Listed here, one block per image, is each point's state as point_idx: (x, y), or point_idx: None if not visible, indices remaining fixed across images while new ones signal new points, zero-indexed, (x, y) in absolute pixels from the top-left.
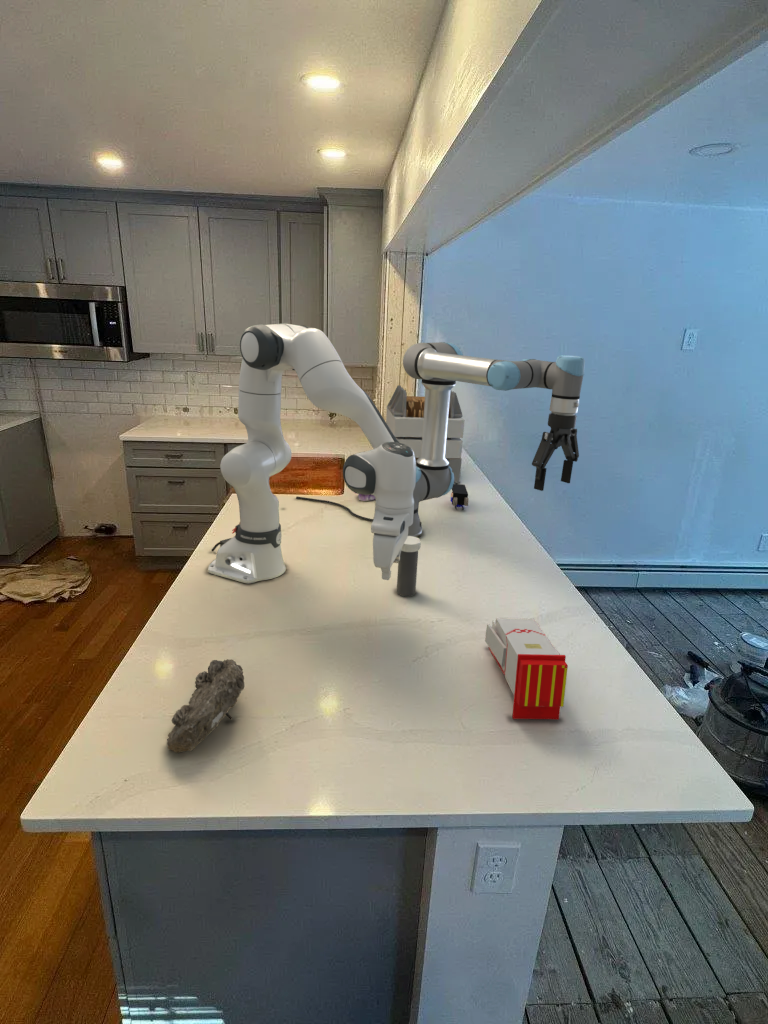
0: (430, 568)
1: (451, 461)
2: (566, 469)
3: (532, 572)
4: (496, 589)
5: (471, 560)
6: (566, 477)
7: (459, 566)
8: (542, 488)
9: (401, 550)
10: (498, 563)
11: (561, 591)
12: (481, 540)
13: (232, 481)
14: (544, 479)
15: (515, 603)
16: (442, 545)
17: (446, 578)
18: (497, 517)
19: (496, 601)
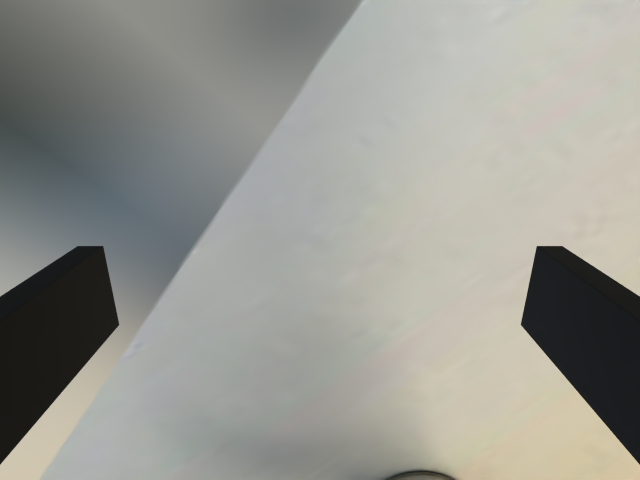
0: None
1: None
2: (23, 372)
3: (337, 165)
4: (525, 159)
5: (414, 317)
6: (80, 301)
7: (473, 311)
8: (572, 255)
9: None
10: (368, 263)
11: (382, 18)
12: (277, 383)
13: None
14: (623, 301)
15: (568, 64)
16: (395, 415)
17: None
18: (100, 456)
19: (596, 109)
